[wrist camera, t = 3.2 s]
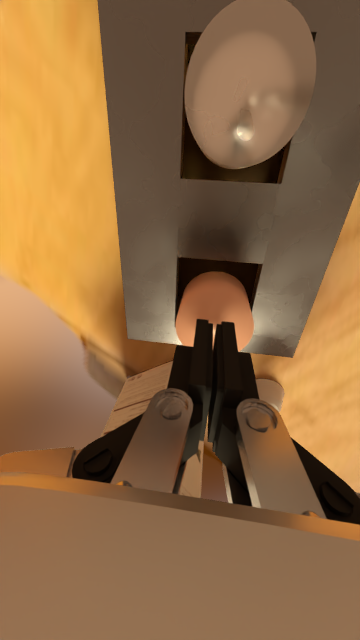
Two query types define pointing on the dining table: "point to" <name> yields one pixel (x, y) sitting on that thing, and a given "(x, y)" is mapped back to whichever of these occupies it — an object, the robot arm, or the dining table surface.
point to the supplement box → (136, 403)
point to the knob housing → (225, 196)
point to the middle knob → (250, 81)
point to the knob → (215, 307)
